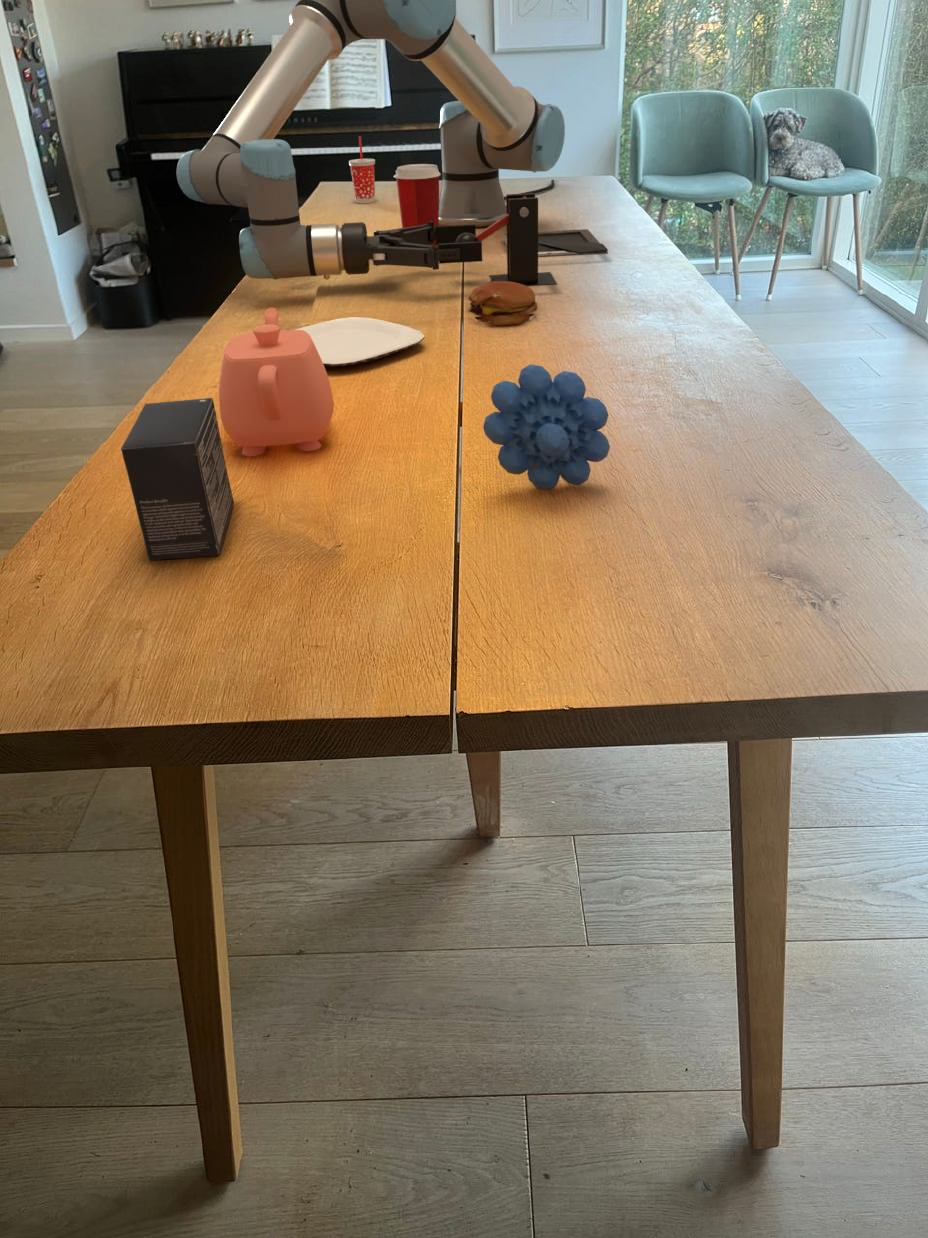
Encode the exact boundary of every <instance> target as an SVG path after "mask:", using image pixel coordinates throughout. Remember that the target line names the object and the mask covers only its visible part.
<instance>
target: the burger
mask: <svg viewBox="0 0 928 1238" xmlns="http://www.w3.org/2000/svg"><path fill="white" fill-rule="evenodd" d="M467 299H468V301H470V302H469V305H470V307H469V312H471V313H474V315H475V316H474V319H475V320H478V321H479V322H481V323H488V322H489V323H491V324H492V325H494V326H501V327H502V326H503V327H505V326H514V325H519V324H523V323H525V322H528V320H530V318H531V317H533V316H534V315H535V313H532V312H534V311H535V310H537V308H538V303H537V301H536V294H535V291H534V290H533V289H532V288H531V287H530V286H526V285H523V284H520V283H515V282H509V281H493V282H491V281H490V282H485V283H483V284H481V285H478V286H476V287H475V288H473V290H472V291H471V292H470V293H469V295H468V298H467Z"/></svg>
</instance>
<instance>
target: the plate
mask: <svg viewBox="0 0 928 1238" xmlns="http://www.w3.org/2000/svg"><path fill="white" fill-rule="evenodd" d="M295 330H303V331H305V332H307V333H308V334H309V335H310V337H311V339H312V341H313V343H314V345H315V347H316V349H317V351H318V353H319V356H320V358H321V360H322V362H323V365H324V367H347V366H348V367H349V366H356V365H360V364H366V363H369V362H373V361H377V360H379V359H382V358H385V357H388V356H391V355H392V354H395V353H397V352H401V351H404V350H407V349H409V348H411V347H415V346H416V345H418V344H420V343H421V342H422V341H423V340H425V338H426V337H425V335H424V334H423V333H422V332H421V331H420V330H418V329H415V328H413V327H409V326H406V325H403V324H399V323H395V322H390V321H387V320H382V319H379V318H378V319H377V318H372V317H363V316H362V317H361V316H351V317H341V318H335V319H331V320H327V321H322V322H317V323H314V324H310V325H306V326H303V327H299V328H296V329H295Z"/></svg>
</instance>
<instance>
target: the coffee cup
mask: <svg viewBox="0 0 928 1238" xmlns="http://www.w3.org/2000/svg"><path fill="white" fill-rule="evenodd" d="M438 167H439V166H438V165H437V164H430V163H415V164H414V163H413V164H405V165H400V166H397V168H396V170H395V174H394V175H393V178H395V180H396V186H397V187H396V188H397V196H398V203H399V213H400V220H401V228H405V227H412V226H419V225H425V224H428V222H429V221H433V222H434V227H435V226H440V225H439V198H440V176H441V175H442V174H441V172H439V168H438ZM428 245H432V246H433V245H435V246H438V245H436V240H435V243H433V244H428Z"/></svg>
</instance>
